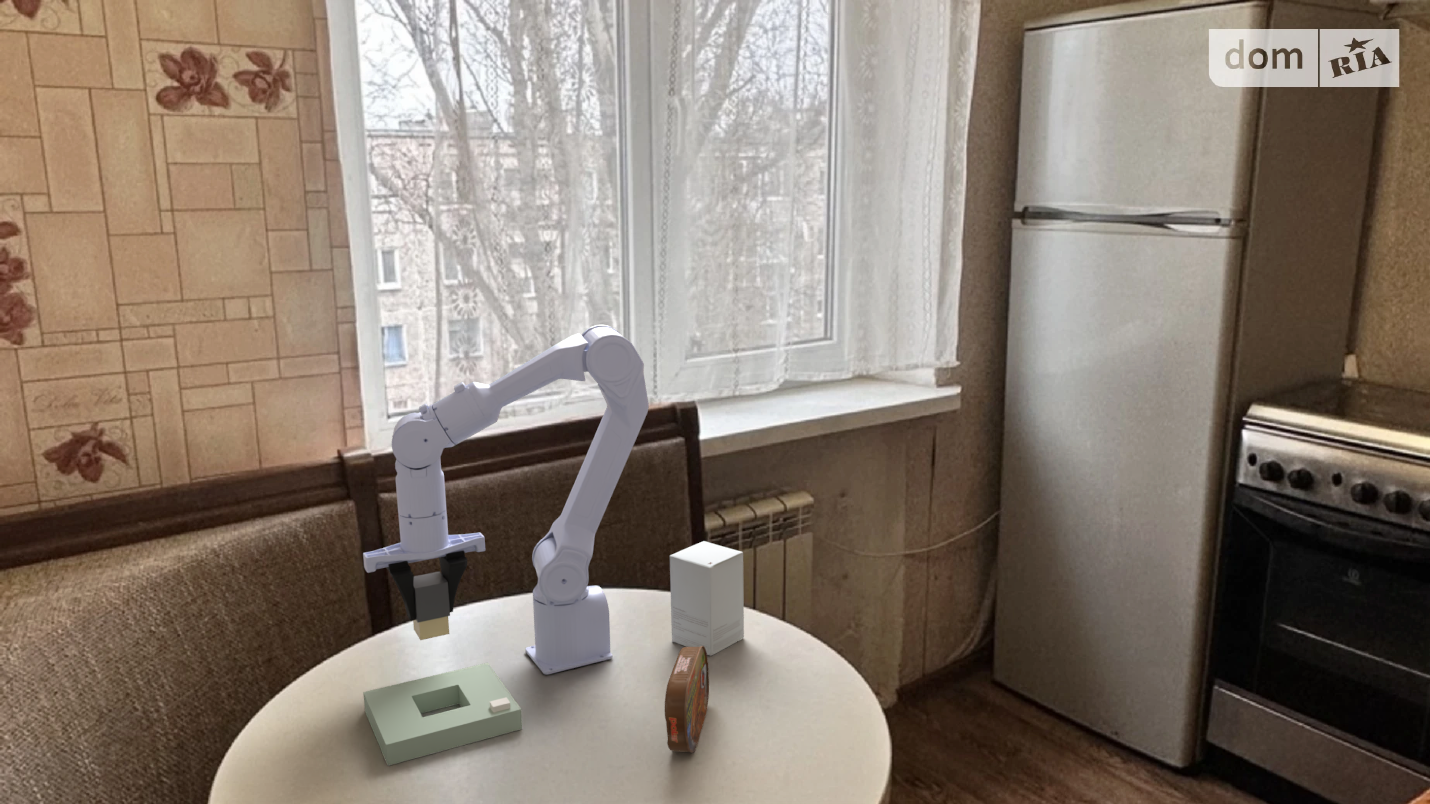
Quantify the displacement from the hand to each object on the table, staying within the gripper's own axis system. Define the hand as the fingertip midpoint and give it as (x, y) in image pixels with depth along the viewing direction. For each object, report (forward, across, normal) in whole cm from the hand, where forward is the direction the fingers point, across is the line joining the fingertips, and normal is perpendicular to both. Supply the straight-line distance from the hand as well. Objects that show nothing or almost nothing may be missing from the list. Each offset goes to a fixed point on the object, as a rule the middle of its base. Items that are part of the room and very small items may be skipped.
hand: (430, 613), depth 126 cm
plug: (+2, 0, 0) cm, 2 cm away
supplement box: (+8, -35, +9) cm, 37 cm away
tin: (+9, -22, +28) cm, 37 cm away
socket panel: (+8, +2, +12) cm, 15 cm away
